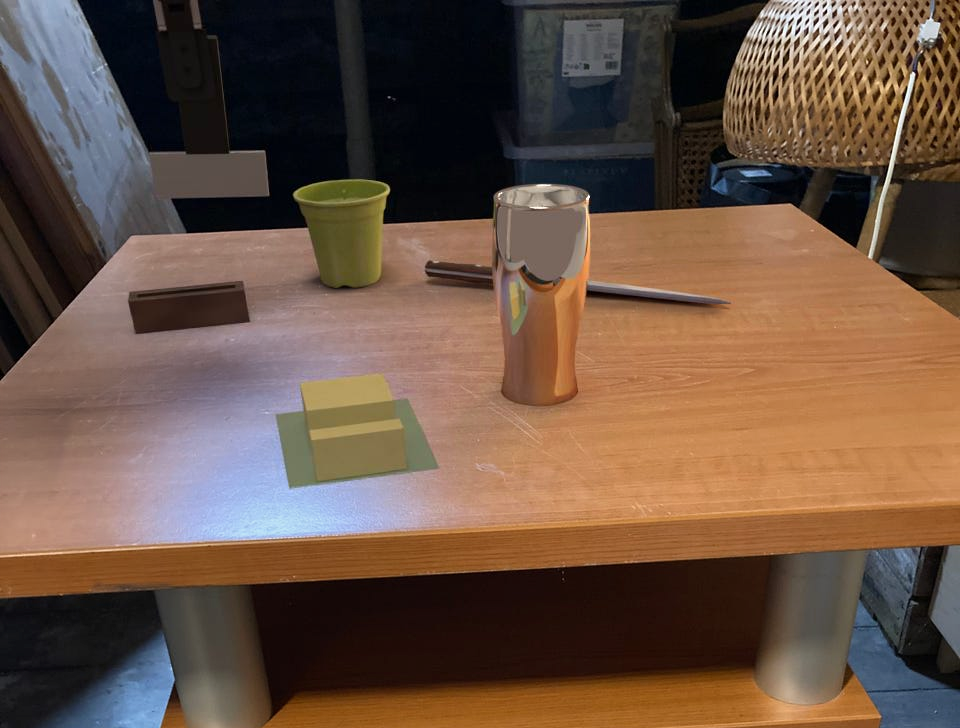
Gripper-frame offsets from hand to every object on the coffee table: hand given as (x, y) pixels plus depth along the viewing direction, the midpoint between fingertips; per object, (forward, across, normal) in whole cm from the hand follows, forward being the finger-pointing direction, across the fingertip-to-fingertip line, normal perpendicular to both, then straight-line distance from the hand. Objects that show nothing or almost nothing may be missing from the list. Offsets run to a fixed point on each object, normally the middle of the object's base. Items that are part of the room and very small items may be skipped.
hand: (192, 94), depth 68 cm
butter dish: (+21, +14, +7) cm, 27 cm away
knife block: (+21, -17, -4) cm, 27 cm away
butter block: (+20, +13, +7) cm, 25 cm away
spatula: (+7, 0, 0) cm, 7 cm away
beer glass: (+21, +10, +22) cm, 32 cm away
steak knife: (+21, -14, +32) cm, 41 cm away
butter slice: (+20, +19, +7) cm, 29 cm away
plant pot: (+21, -25, +12) cm, 35 cm away
